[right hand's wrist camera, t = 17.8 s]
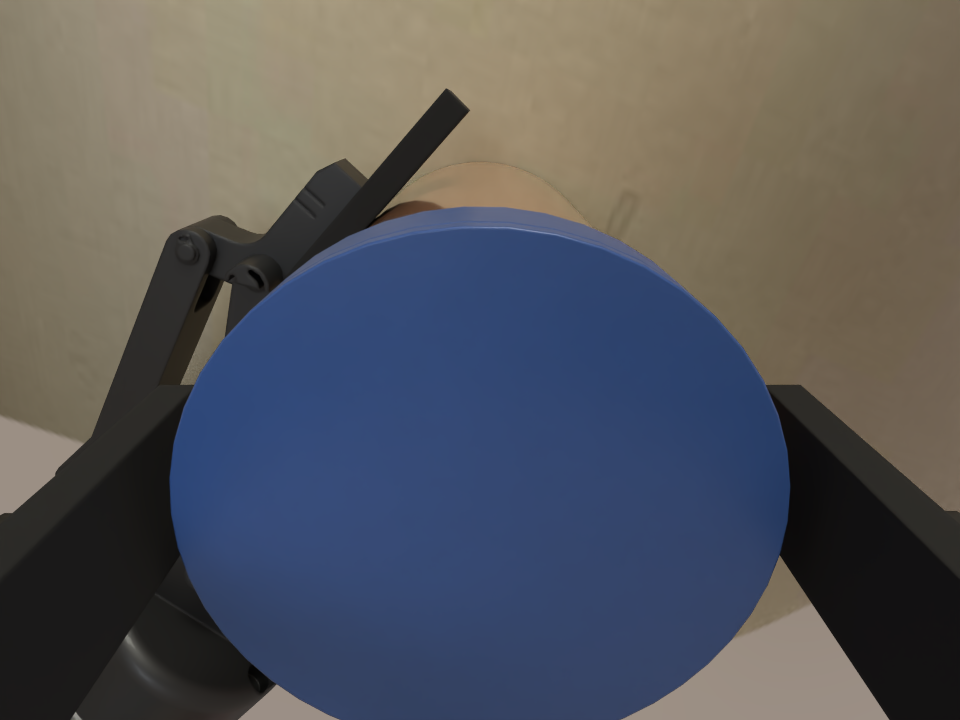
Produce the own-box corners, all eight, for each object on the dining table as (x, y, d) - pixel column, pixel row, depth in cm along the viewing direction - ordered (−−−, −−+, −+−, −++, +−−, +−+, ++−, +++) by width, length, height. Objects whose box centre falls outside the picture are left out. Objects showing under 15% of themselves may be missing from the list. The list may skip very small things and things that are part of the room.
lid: (112, 488, 12) (51, 552, 11) (456, 64, 10) (450, 54, 8) (494, 735, 15) (497, 820, 13) (855, 456, 12) (918, 515, 10)
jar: (462, 106, 23) (433, 108, 9) (646, 268, 25) (862, 480, 11) (316, 299, 25) (112, 540, 11) (494, 429, 28) (509, 769, 14)
